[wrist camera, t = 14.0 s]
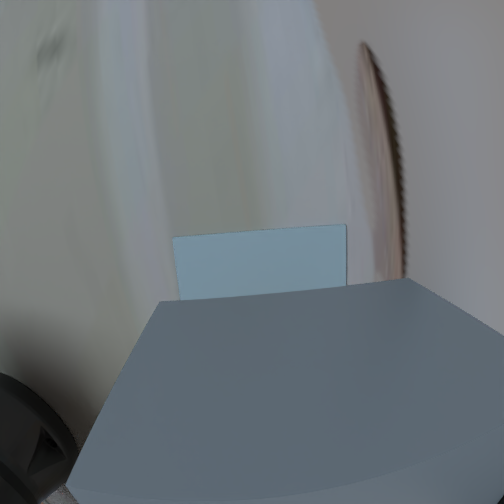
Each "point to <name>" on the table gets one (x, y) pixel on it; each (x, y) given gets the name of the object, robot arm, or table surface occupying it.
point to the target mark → (260, 261)
